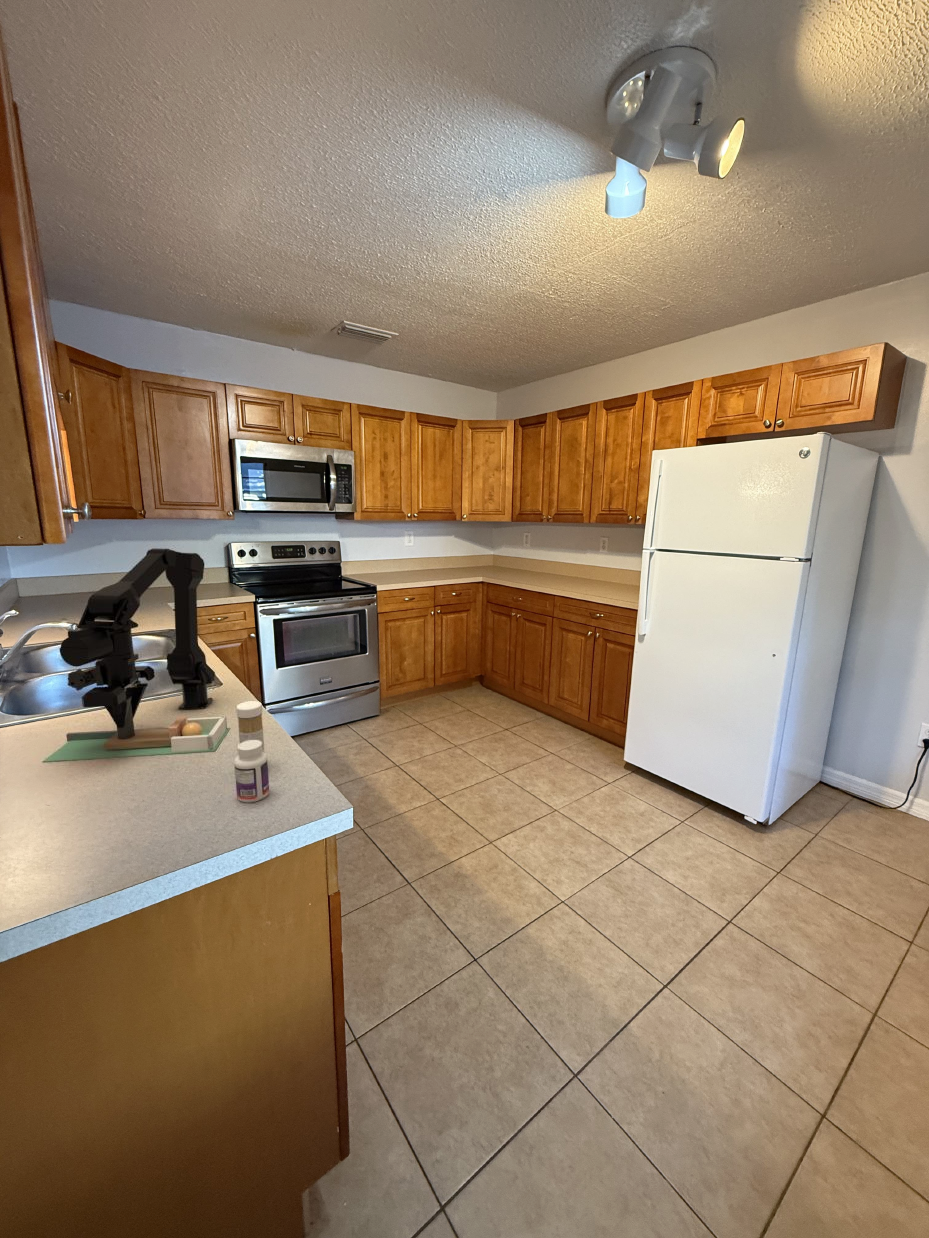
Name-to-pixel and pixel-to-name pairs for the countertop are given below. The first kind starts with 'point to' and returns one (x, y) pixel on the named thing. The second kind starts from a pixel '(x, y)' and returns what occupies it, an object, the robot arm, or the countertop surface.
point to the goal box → (201, 741)
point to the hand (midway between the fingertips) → (125, 723)
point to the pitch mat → (97, 750)
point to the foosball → (192, 729)
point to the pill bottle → (251, 772)
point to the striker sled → (143, 735)
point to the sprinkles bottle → (250, 721)
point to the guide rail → (96, 734)
